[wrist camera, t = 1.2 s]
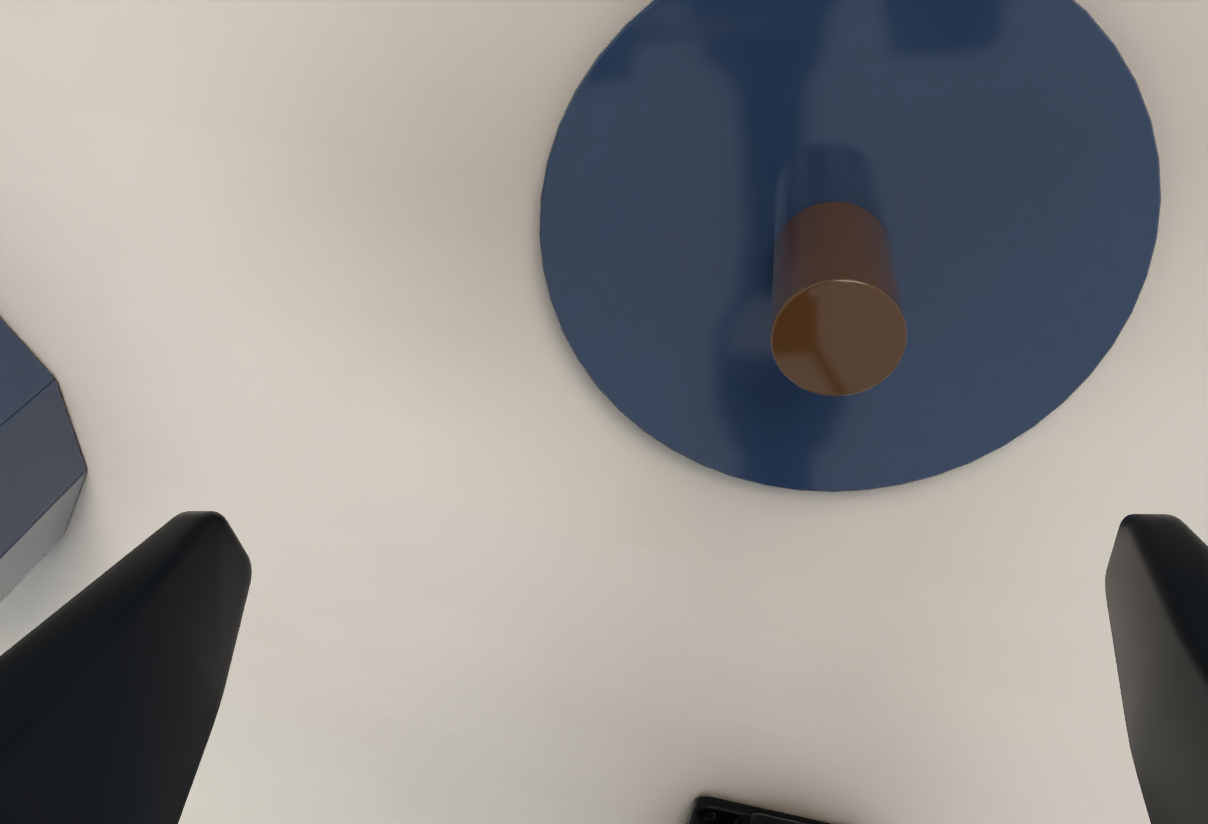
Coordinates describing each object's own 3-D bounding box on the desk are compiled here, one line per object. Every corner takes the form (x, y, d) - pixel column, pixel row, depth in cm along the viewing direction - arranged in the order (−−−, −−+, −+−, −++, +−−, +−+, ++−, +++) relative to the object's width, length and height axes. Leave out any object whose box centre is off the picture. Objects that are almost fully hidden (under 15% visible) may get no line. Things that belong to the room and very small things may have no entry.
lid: (1016, 524, 27) (1052, 652, 23) (520, 422, 27) (476, 529, 24) (1279, -14, 19) (1399, 45, 15) (579, -134, 20) (528, -107, 16)
